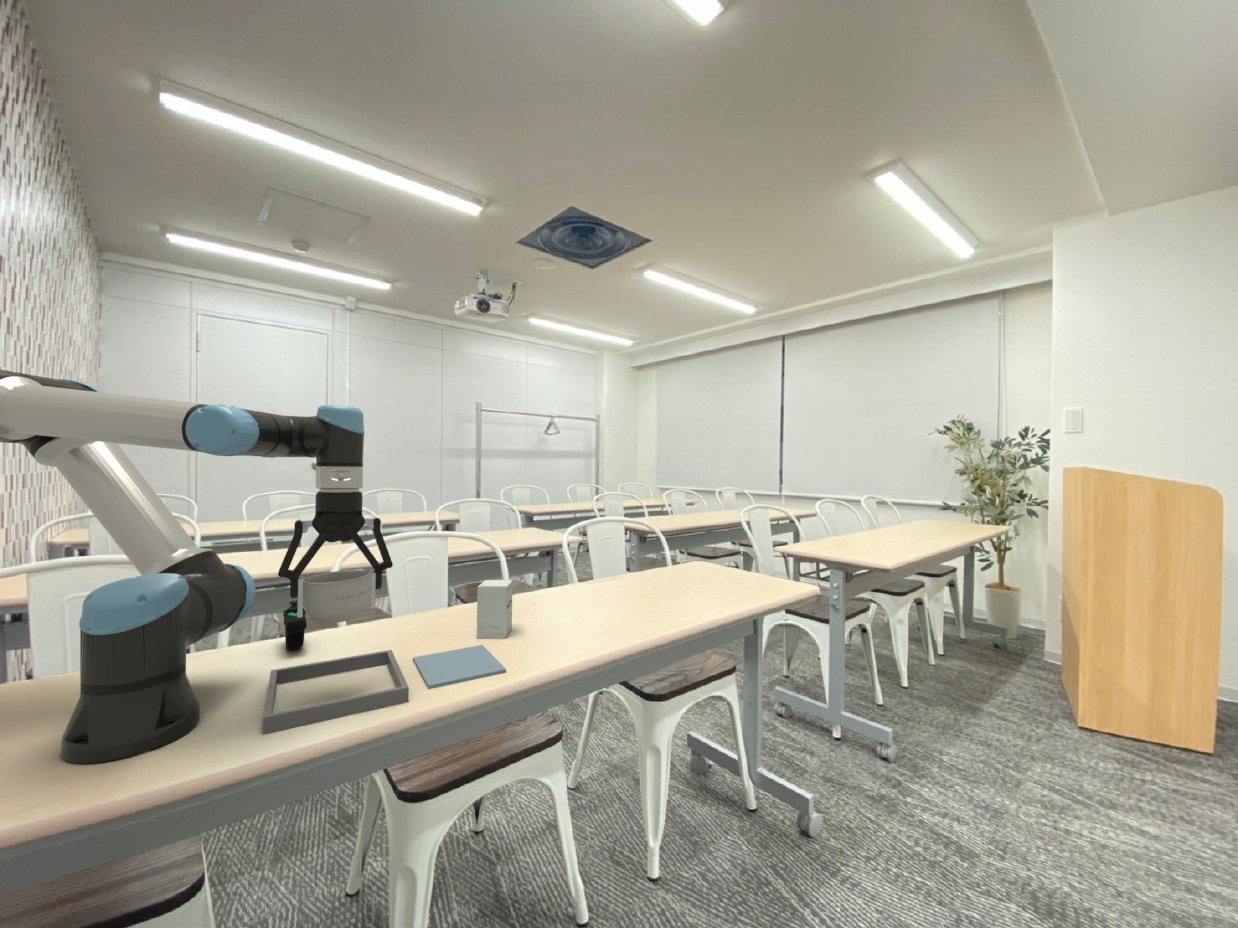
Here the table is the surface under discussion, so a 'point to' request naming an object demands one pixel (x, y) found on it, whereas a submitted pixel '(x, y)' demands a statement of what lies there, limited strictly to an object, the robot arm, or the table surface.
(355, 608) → the teacup
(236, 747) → the table surface
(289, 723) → the gray rectangular frame
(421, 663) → the mat
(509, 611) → the supplement box
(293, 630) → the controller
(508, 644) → the table surface
